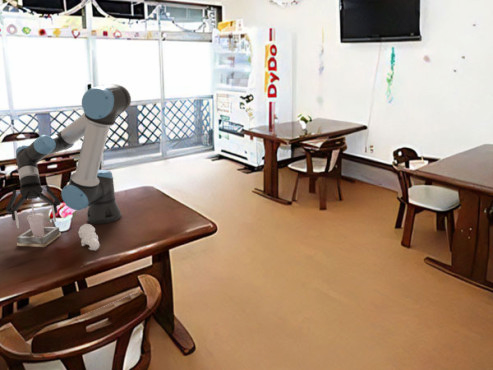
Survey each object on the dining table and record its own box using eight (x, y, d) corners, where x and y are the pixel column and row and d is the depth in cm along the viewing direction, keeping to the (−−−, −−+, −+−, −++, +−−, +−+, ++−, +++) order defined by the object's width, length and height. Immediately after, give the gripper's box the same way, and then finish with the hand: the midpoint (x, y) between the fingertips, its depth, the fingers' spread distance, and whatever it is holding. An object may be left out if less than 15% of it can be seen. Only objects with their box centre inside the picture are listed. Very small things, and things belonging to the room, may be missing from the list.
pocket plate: (61, 234, 180) (59, 227, 179) (44, 246, 169) (43, 238, 168) (35, 233, 182) (33, 226, 181) (17, 245, 171) (15, 237, 170)
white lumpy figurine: (92, 220, 172) (103, 232, 163) (94, 238, 175) (104, 251, 166) (76, 224, 168) (86, 236, 159) (78, 243, 171) (88, 256, 163)
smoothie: (34, 235, 178) (28, 203, 174) (50, 234, 179) (44, 203, 174) (28, 241, 172) (22, 209, 168) (44, 240, 172) (38, 208, 168)
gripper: (61, 179, 188) (69, 221, 180) (-3, 187, 177) (3, 233, 169) (60, 170, 182) (69, 213, 173) (-6, 178, 171) (0, 225, 163)
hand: (36, 223), depth 171 cm, fingers open, 13 cm apart
